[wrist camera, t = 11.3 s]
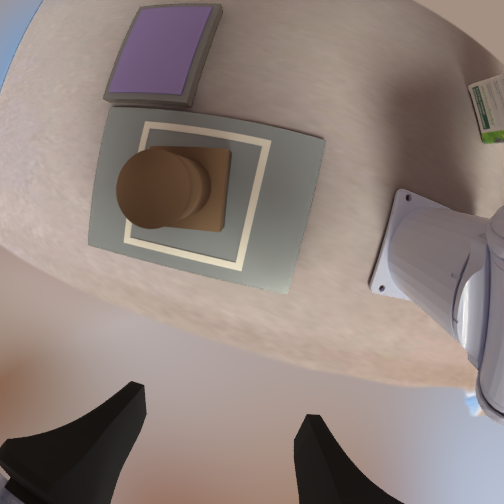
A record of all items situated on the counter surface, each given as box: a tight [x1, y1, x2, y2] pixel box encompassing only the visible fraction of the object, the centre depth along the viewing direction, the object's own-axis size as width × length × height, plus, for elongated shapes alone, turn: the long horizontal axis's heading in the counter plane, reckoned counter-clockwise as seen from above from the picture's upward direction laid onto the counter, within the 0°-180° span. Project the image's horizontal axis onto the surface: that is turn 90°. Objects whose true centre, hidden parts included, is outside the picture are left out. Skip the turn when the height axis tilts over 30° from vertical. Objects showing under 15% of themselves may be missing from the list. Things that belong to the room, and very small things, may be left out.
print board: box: [88, 107, 326, 295], centre depth 18 cm, size 16×11×1 cm
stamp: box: [116, 146, 232, 232], centre depth 14 cm, size 5×5×7 cm
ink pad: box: [103, 4, 223, 107], centre depth 15 cm, size 7×9×1 cm
